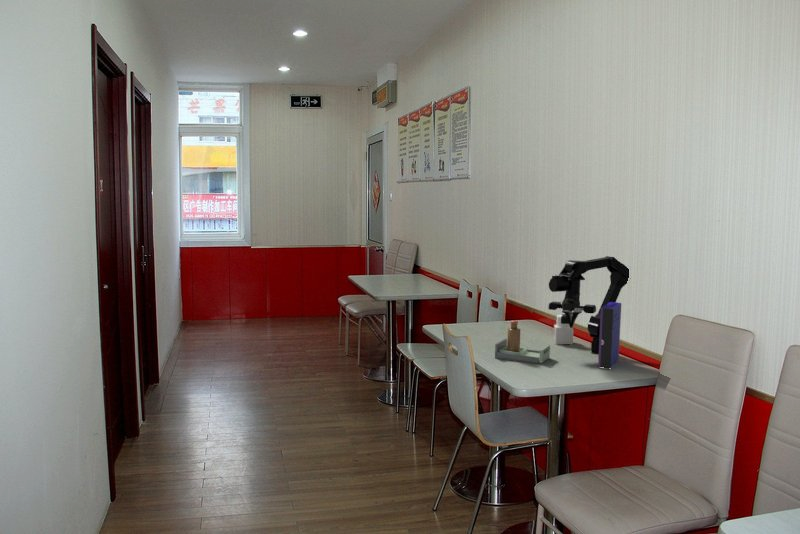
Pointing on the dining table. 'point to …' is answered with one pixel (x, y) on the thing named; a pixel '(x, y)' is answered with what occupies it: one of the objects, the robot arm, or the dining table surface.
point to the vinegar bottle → (513, 337)
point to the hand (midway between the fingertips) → (571, 327)
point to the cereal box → (609, 334)
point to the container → (563, 331)
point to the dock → (513, 356)
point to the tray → (531, 353)
